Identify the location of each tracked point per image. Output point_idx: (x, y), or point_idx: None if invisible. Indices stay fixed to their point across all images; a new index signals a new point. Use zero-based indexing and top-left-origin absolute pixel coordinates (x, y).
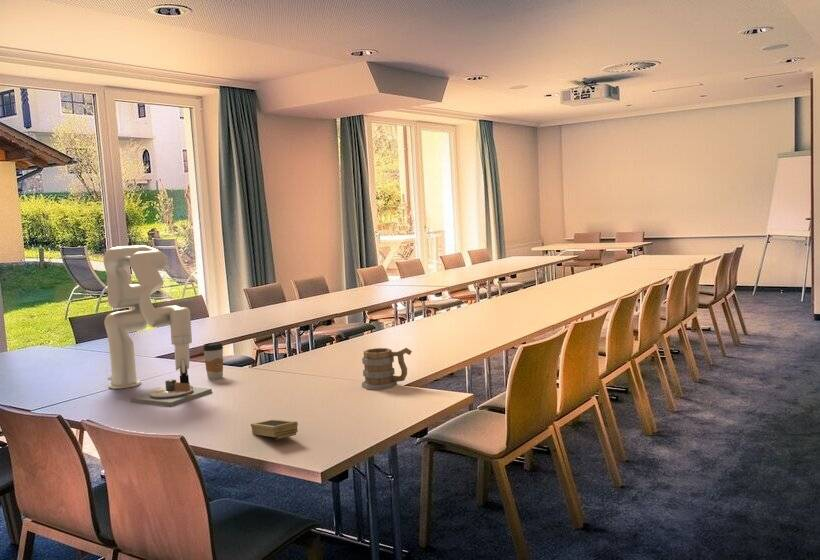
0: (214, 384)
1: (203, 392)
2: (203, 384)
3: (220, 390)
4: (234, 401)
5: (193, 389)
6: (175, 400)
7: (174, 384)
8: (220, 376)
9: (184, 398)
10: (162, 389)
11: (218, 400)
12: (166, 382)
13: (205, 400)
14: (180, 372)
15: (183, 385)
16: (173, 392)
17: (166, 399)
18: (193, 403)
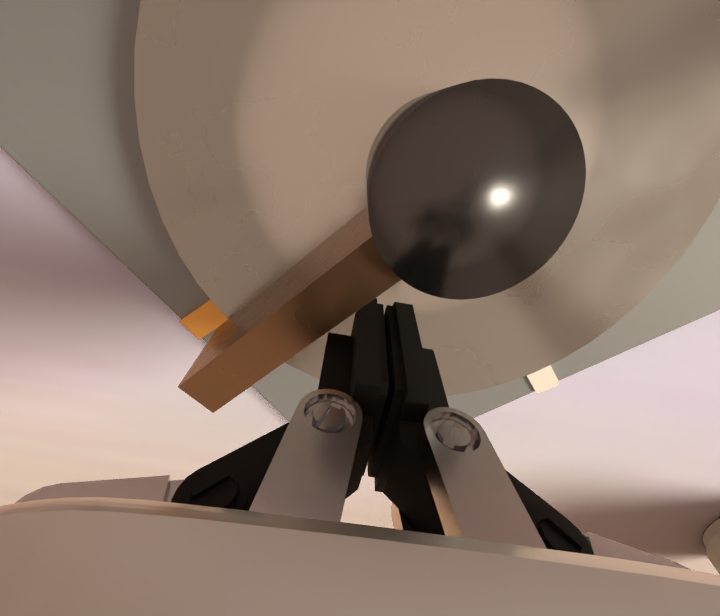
0: (581, 497)
1: (291, 415)
2: (660, 455)
3: (371, 491)
4: (10, 491)
5: None
6: (9, 137)
7: (362, 233)
8: (711, 559)
9: (113, 248)
10: (572, 46)
11: (75, 438)
12: (434, 96)
13: (113, 378)
14: (262, 477)
15: (240, 328)
16: (238, 167)
17: (110, 31)
18: (38, 290)
